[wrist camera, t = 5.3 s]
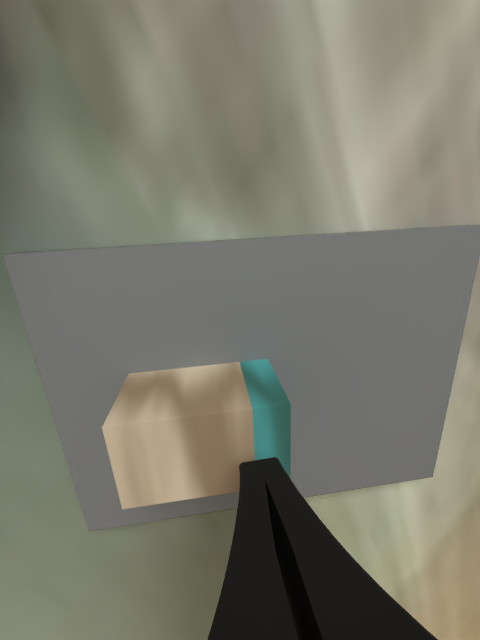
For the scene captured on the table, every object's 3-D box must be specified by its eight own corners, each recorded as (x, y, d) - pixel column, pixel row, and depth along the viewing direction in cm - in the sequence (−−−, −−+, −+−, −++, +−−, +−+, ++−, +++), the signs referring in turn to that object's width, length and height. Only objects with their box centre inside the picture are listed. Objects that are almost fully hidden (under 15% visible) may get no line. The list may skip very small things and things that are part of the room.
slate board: (467, 225, 15) (485, 225, 14) (421, 465, 20) (432, 477, 19) (17, 252, 13) (2, 254, 12) (95, 515, 18) (88, 531, 17)
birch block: (290, 404, 11) (101, 428, 10) (290, 483, 12) (122, 509, 12) (268, 358, 15) (128, 373, 14) (269, 423, 16) (141, 439, 15)
